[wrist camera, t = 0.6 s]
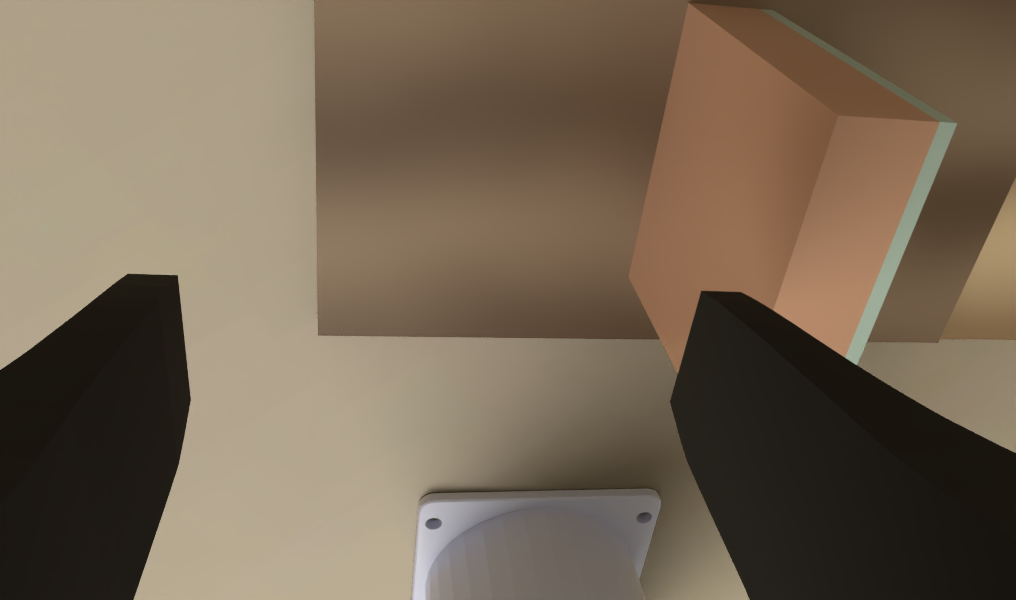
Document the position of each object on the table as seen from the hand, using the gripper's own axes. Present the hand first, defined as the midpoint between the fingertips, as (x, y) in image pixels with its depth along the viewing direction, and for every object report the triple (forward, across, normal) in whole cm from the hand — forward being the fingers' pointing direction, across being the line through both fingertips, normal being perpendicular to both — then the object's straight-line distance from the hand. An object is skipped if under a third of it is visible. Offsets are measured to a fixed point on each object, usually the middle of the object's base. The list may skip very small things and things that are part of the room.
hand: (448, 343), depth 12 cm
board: (+10, -11, 0) cm, 15 cm away
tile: (+9, -7, 0) cm, 11 cm away
